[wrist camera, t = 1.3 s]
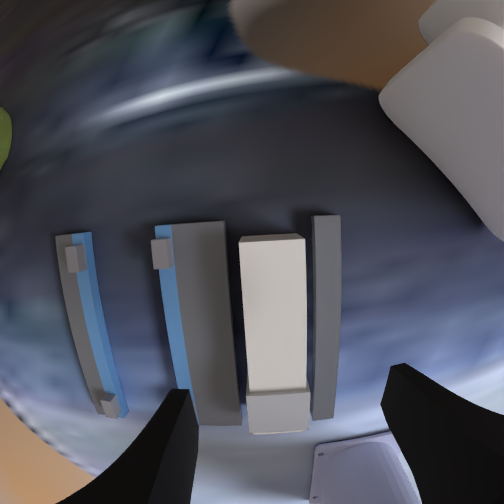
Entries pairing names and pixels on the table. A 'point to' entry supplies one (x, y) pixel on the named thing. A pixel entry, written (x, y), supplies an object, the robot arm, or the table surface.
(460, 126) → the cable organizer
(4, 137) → the plant pot
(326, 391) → the board
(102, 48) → the table surface
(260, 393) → the tall beige pillar
